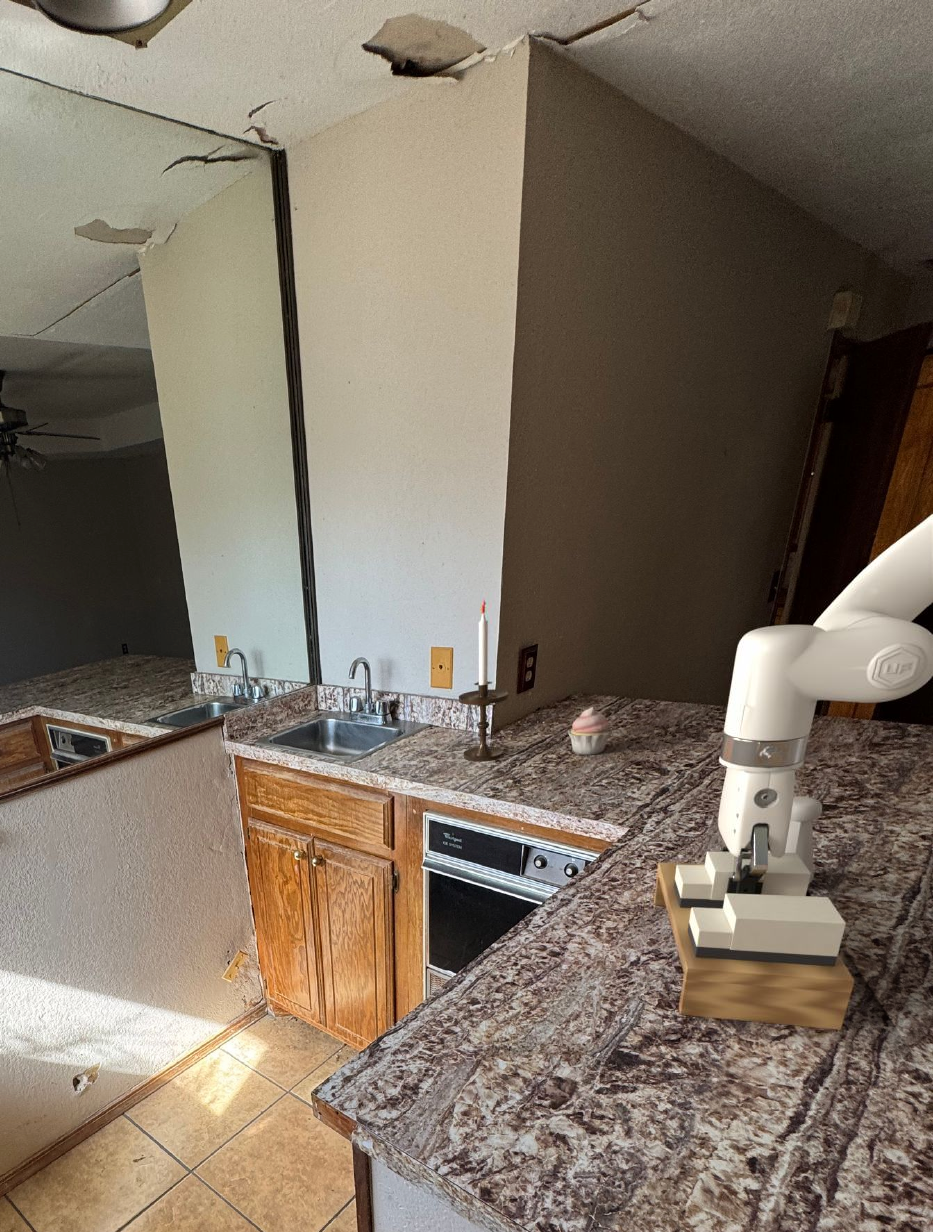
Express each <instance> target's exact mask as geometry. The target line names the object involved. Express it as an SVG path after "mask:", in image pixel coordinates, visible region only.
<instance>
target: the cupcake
mask: <svg viewBox="0 0 933 1232" xmlns="http://www.w3.org/2000/svg"><path fill="white" fill-rule="evenodd" d="M613 732H614V729H612V727H611V722H610V721H609V720H608V719H606V716H605V714H602V713H601V712H599V711H597V710H596V709H595V708H594V706H592V707H590V708H587V709H585V710H584V711H582V713H580V715H579V716H578V717H577V718H576V719H575V720H574V721H573V722H572V727H571V728H570V729H568V730H567V733H568V736H569V738H570V741H571V747H572V751H573V753H575V754H576V755H577V754H578V755H584V756H591V755H596V754H601V753H602V752H604V750H605V748H606V744H607V742H608V740H609V737H610V736H611V735H612V734H613Z"/></svg>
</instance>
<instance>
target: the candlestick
mask: <svg viewBox="0 0 933 1232" xmlns="http://www.w3.org/2000/svg"><path fill="white" fill-rule="evenodd" d="M486 603H487V602H486V601H485V599H483V600H482V605H481V609H480V611H481V618H480V620H479V621H478V682H477V681H476V682H475V683H474V684H473V685H474V686H478V689H477V690H472V691H467V692H463V693H462V694H459V696H458V703H460V704H462V705H465V706H466V705H469V706H477V707H479V721H478V722H477V724H476V727H477V729H479V733H478V734H477V737H479V741H480V742H479V745H478V746H477V747H476V746H475V747H472V748H469V749H466V750H465V751H463V759H464V760H466V761H470V762H490V761H491V762H492V761H495V760H500V758H503V757H504V749H502V748H500V747H496V746H488V744H487V737H489V733H488V731H487V729H488V728H489V727H490V723H489V722H488V721H487V707H489V706H490V705H492V704H498V703H501V702H504V701H506V700H508V699H509V692H508V691H507V690H503V689H489V685H491V684H493V681H490V680H489V681H488V667H489V666H488V661H489V660H488V658H489V657H488V656H489V655H488V653H489V651H488V650H489V647H488V646H489V645H488V644H489V643H488V640H489V639H488V635H489V633H488V632H489V631H488V630H489V629H488V628H489V627H488V626H489V625H488V623H489V621H488V620H487V619H486V616H485V613H486V607H485V606H486Z"/></svg>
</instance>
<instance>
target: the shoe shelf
mask: <svg viewBox="0 0 933 1232" xmlns="http://www.w3.org/2000/svg"><path fill="white" fill-rule="evenodd" d="M677 865H705V863H702V862H701V863H697V862H693V863H692V862H662V861H661V862H658V863H657V871H656V880H655V886H654V894H653V904H654V906H662V907H663V906H664V907H665V908H666V910H667V914H668V918H669V923H670V925H671V929H672V934H673V937H674V941H675V944H676V945H675V946H676V949H677V952H678V956H679V960H680V965H681V967H682V971H683V978H682V984H681V990H680V996H679V1004H678V1011H679V1015H680V1016H681V1015H682V1016H690V1017H700V1018H701V1017H702V1018H711V1019H712V1018H713V1019H722V1020H723V1019H724V1020H733V1021H744V1022H753V1023H762V1024H763V1023H765V1024H774V1025H784V1026H785V1025H786V1026H796V1027H805V1028H806V1027H807V1028H817V1029H825V1030H827V1029H828V1030H836V1031H837V1030H838V1031H841V1030H842V1027H843V1023H844V1020H845V1016H846V1012H847V1009H848V1006H849V1004H850V1003H849V1002H850V999H851V995H852V992H853V989H854V985H855V982H856V981H855V978H854V977H853V976H852V973H851V972H850V971H849V969H848V967H847V966H846V964H845V963H844V961H843V959H842V957H841V956H840V954H839V953H838V956H837V959H836V962H835V966H819V965H804V964H789V963H775V962H760V961H745V960H730V959H716V958H701V957H695V954H694V951H693V948H692V944H691V941H690V938H689V934H688V924H689V920H690V913H691V908H680V907H679V903H678V900H677V896H676V893H675V890H674V880H675V874H676V867H677Z"/></svg>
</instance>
